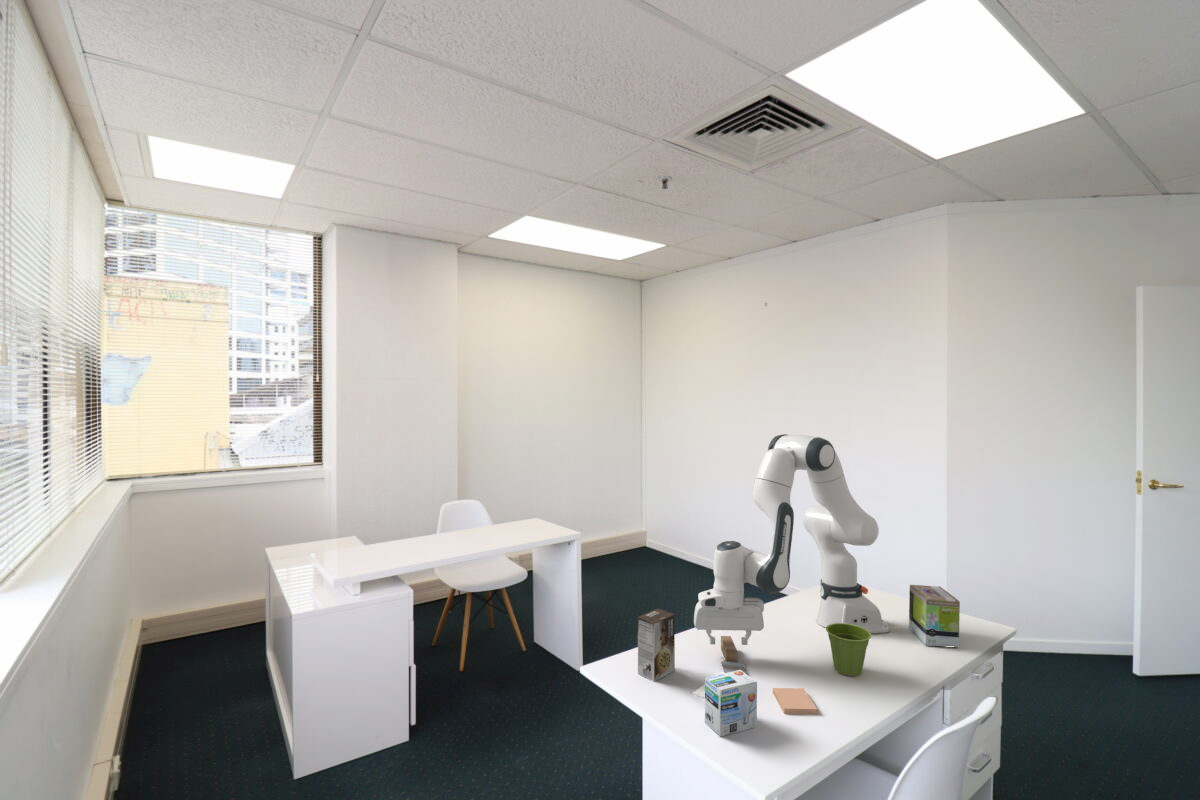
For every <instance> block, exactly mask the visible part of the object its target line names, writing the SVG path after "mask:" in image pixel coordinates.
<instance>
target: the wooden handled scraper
mask: <svg viewBox="0 0 1200 800" xmlns="http://www.w3.org/2000/svg"><path fill="white" fill-rule="evenodd" d="M720 651H721V653H722V655H723V659H724V658H725V659H724V660H723V661H722V660H721V661H720V663H721V664H722V665H721V667H723V668H722V669H723V673H728V672H733V671H737V670H741V671H743V672H744V673H745V674H747V675H748V671H747V670H746V667H745V665H744V663H743V661H738V650H737V647H736V645H735V643H734V640H733V637H732V636H731V635H721V636H720Z"/></svg>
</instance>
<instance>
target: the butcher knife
mask: <svg viewBox="0 0 1200 800" xmlns="http://www.w3.org/2000/svg"><path fill="white" fill-rule="evenodd" d="M720 674H724V671H723V672H722V671H720V672H719V673H718V674H717V675H720ZM691 694H692V696H695V697H697V698H700V699H703V700H705V683H704V684H703V685H701V686H699V687H698V688H697V689H696V690H695V691H693V692H692V693H691Z"/></svg>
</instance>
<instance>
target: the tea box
mask: <svg viewBox="0 0 1200 800" xmlns="http://www.w3.org/2000/svg"><path fill="white" fill-rule="evenodd" d="M908 603H909V604H908V605H909V607H908V610H909V611H908V613H909V615H908V627H909V629H910V630H911V631H912V632H913V633H914V634H915V635H916V637H918V638H919V640H920V641H921V642H922V644H924V645H925V646H927V647H935V646H954V647H958V648H959V646H960V617H961V616H960V613H961V611H960V610H961V609H960V607H961V602H960V600H959V599H957V598H956V597H955V596H954V595H952V594H951V593H950V592H948V591H947V590H946V589H944V588H943V587H942V586H940V585H939V586H937V585H925V584H922V585H921V584H909V602H908Z"/></svg>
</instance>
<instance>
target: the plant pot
mask: <svg viewBox="0 0 1200 800" xmlns="http://www.w3.org/2000/svg"><path fill="white" fill-rule="evenodd" d="M825 631H826V633H828V634H827V636H828V641H829V644H830V650H831V657H832V663H833V667H834V668H833V669H834V671H835V672H837V673H838V674H841V675H844V676H851V677H858V676H861V675H862V673H863V669H864V662H865V658H866V652H867V647H868V646H869V642H870V639H871V638H872V636H873V634H872V633H870V632H869V631H868V630H866V629H864V628H862V627H860V626H857V625H853V624H847V623H833V624H830V625H828V626H827V627H825Z"/></svg>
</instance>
